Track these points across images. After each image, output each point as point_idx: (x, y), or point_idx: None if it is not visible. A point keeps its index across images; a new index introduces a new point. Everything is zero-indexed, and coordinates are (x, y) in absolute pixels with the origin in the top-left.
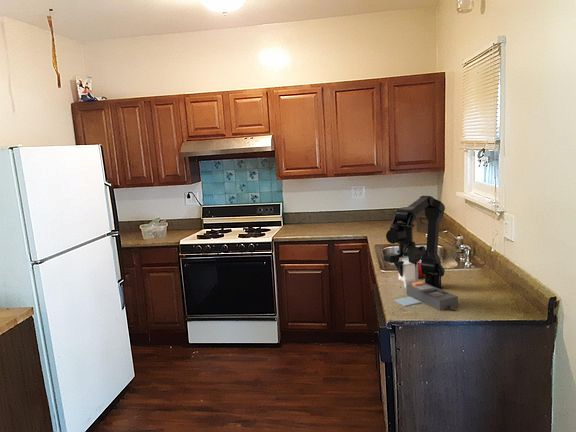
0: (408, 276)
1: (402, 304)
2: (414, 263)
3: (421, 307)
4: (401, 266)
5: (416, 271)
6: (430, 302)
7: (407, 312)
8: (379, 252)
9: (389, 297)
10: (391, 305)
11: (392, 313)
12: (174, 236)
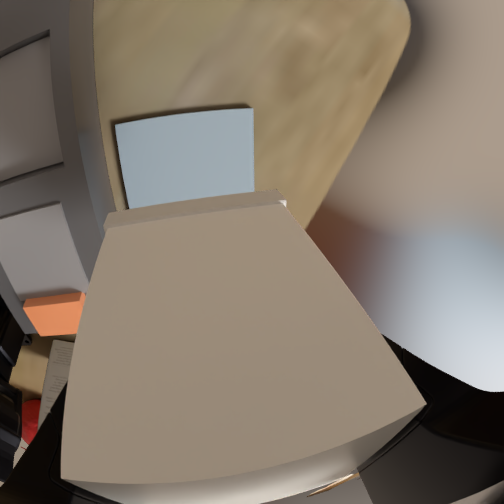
0: (239, 236)
1: (253, 134)
2: (65, 487)
3: (161, 46)
4: (431, 395)
5: (47, 412)
6: (86, 47)
7: (297, 19)
8: None
9: None
10: (310, 161)
11: (373, 59)
12: (343, 481)
